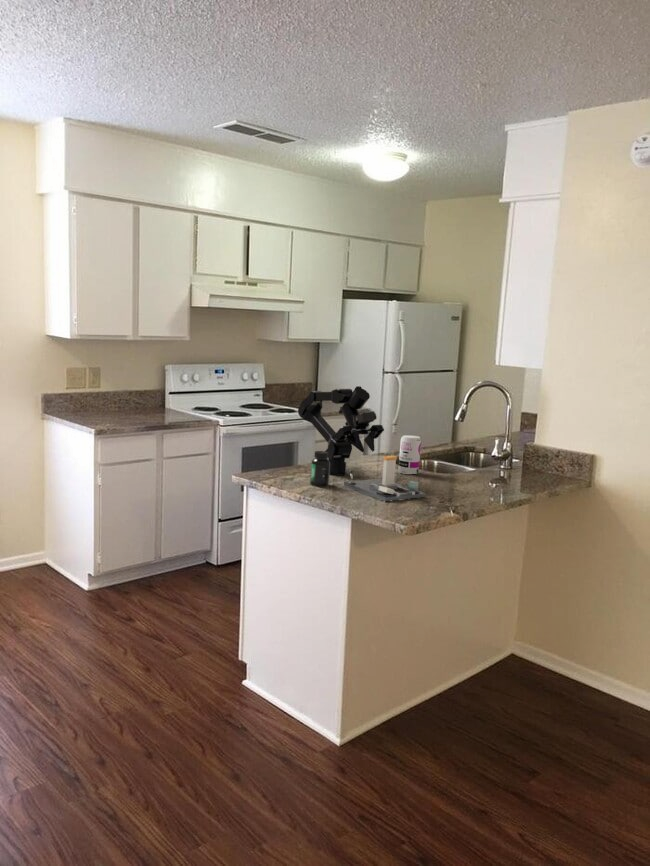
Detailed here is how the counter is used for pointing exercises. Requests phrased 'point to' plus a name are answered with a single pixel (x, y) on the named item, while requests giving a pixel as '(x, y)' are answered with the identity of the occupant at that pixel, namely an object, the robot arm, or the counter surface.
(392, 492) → the rocker switch
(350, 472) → the toggle lever
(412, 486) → the push button
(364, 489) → the console
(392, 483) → the slide paddle
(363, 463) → the counter surface
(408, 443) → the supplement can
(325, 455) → the supplement bottle
